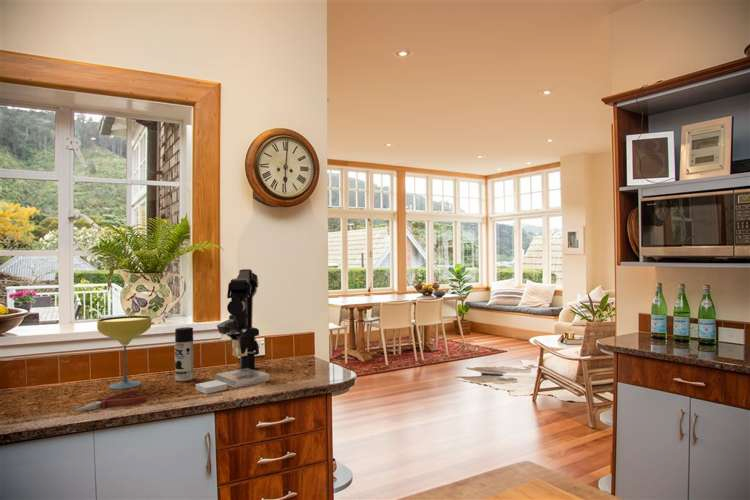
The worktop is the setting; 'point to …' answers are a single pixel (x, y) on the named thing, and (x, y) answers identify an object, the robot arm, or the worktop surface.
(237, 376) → the plate
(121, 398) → the pliers
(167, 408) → the worktop surface
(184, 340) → the spray can
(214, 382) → the soap bar
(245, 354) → the peg
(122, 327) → the cocktail glass
